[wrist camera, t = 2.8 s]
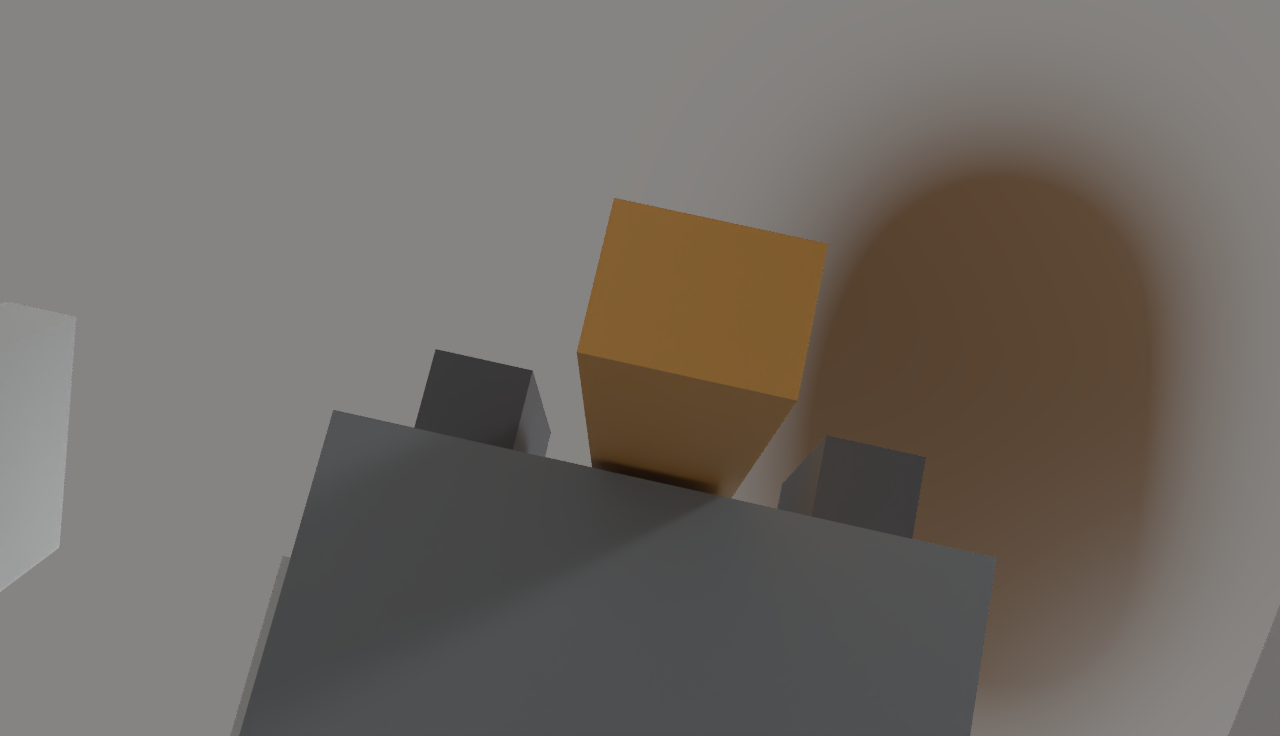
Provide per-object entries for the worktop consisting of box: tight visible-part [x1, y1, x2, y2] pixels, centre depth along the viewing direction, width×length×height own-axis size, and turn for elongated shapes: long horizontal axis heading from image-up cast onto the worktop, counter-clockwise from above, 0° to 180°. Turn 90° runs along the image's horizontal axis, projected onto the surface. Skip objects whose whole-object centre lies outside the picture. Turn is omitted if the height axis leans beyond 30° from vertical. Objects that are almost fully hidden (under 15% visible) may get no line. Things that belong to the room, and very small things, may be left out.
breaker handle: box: [577, 198, 828, 498], centre depth 30 cm, size 4×18×3 cm, turn 1°
